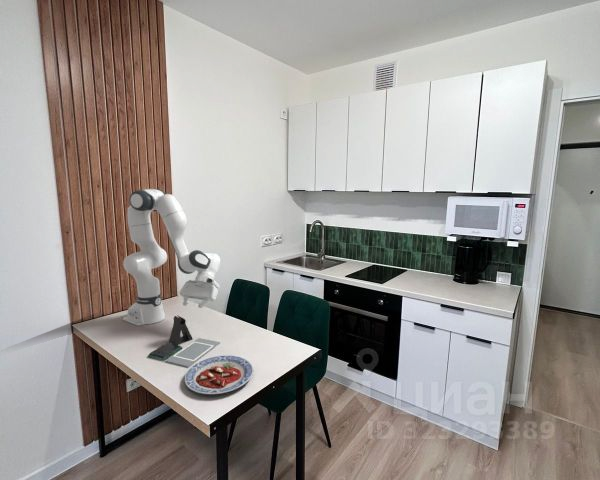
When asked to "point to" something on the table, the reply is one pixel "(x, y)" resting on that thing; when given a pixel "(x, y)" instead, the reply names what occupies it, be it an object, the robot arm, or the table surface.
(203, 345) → the marked board
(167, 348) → the ink pad
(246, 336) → the table surface
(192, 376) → the ceramic plate
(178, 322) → the phone stand
